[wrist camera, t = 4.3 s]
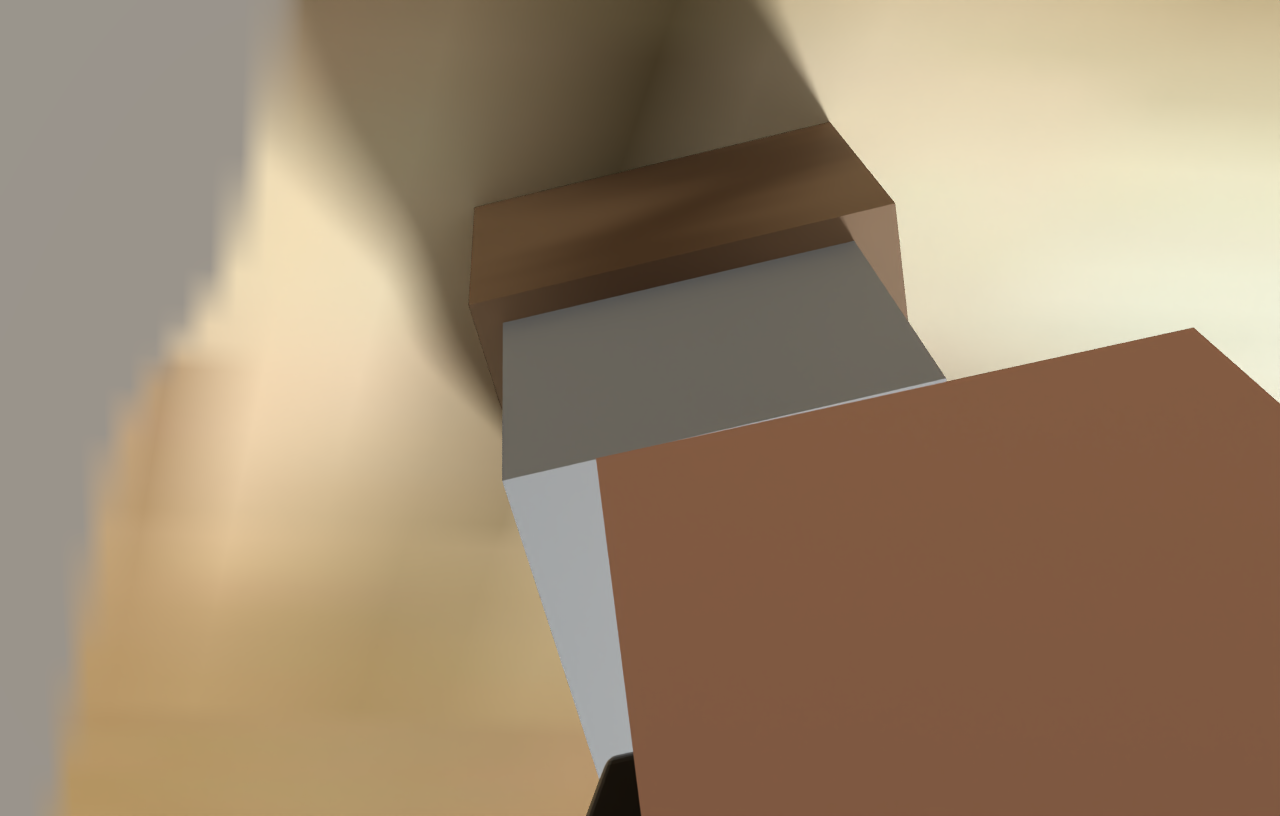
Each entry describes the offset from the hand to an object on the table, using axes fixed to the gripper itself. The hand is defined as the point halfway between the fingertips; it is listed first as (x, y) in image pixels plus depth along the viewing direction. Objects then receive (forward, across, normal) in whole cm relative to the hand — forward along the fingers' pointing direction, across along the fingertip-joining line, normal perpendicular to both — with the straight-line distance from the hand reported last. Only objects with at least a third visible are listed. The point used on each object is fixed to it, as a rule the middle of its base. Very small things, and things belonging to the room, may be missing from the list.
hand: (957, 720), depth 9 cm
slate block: (+9, +1, +2) cm, 9 cm away
